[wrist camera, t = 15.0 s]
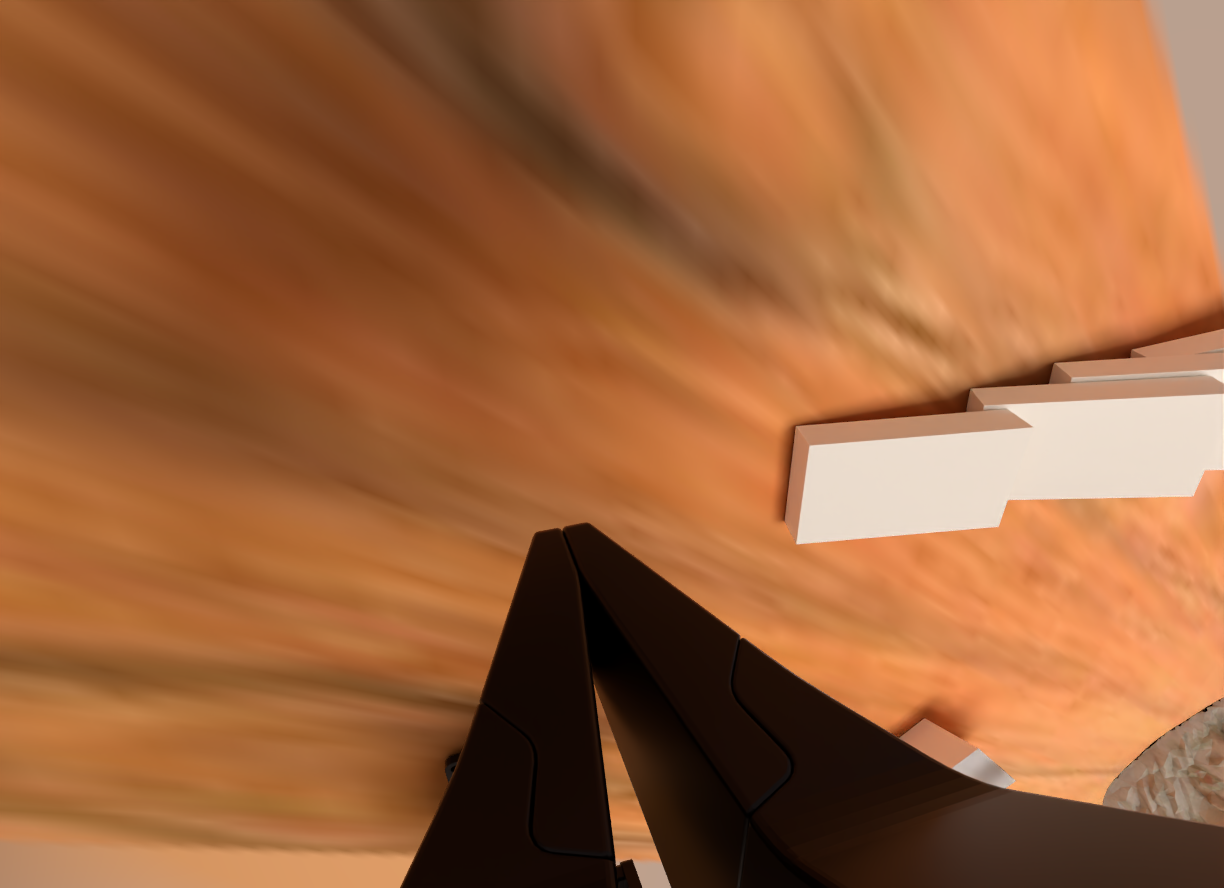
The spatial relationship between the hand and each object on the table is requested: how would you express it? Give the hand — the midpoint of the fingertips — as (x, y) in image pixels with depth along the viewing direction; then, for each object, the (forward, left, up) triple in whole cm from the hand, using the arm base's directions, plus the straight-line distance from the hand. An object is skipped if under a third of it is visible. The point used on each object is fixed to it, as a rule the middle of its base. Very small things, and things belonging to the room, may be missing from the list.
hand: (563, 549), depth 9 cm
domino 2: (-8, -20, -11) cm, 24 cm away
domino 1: (-8, -12, -11) cm, 18 cm away
